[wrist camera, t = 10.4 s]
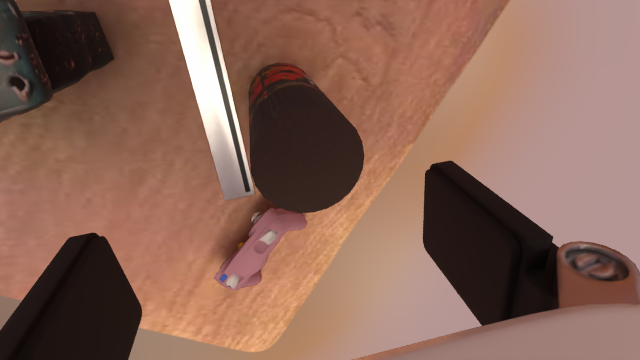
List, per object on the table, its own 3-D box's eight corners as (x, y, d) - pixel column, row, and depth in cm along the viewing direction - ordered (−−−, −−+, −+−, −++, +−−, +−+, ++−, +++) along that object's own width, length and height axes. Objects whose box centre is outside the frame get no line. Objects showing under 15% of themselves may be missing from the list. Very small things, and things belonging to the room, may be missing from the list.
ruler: (149, -69, 24) (149, -69, 24) (193, -73, 25) (193, -74, 24) (225, 199, 34) (224, 200, 34) (255, 193, 35) (255, 195, 34)
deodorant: (325, 79, 31) (383, 132, 18) (299, 138, 33) (334, 224, 20) (262, 51, 29) (276, 86, 16) (239, 115, 31) (233, 194, 18)
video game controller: (279, 190, 37) (255, 206, 30) (312, 218, 37) (296, 240, 30) (229, 255, 39) (196, 284, 32) (259, 281, 39) (233, 315, 32)
